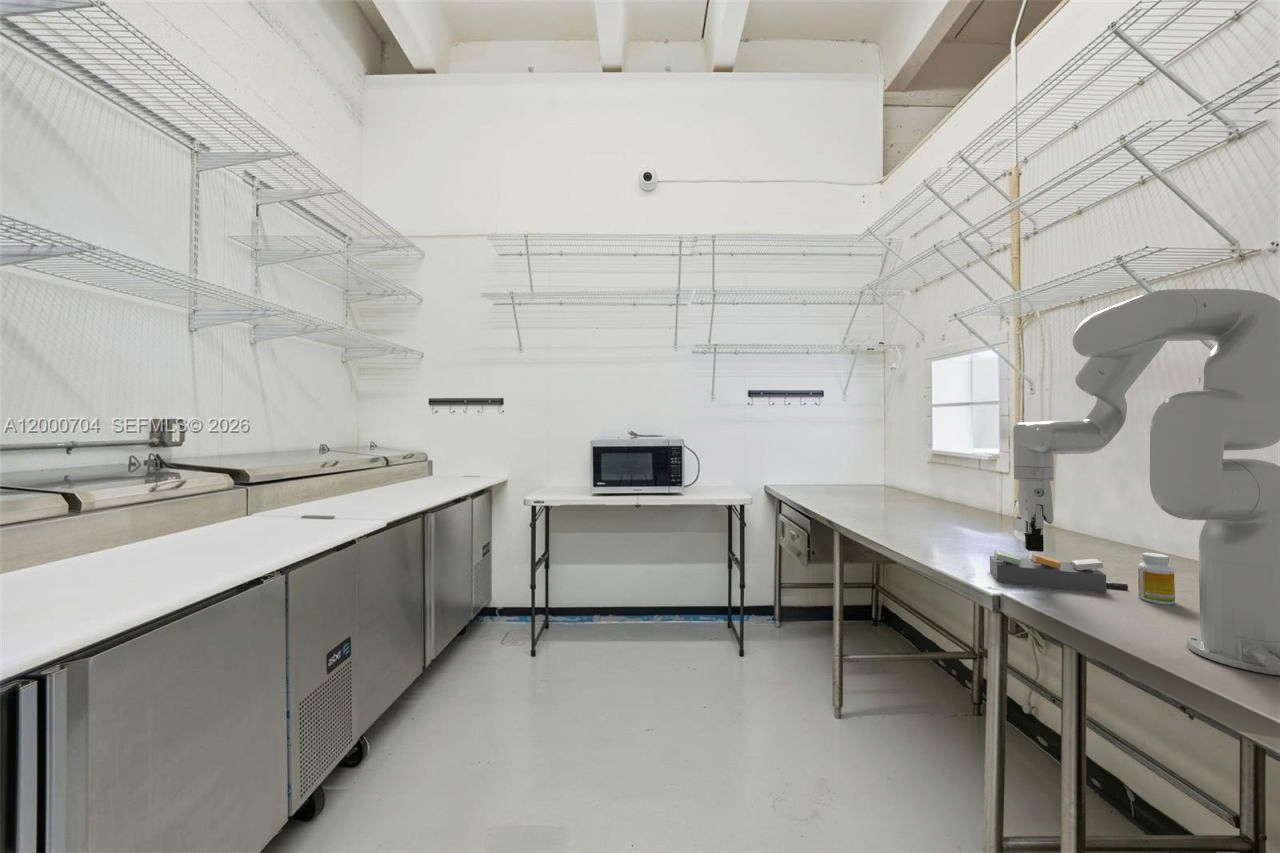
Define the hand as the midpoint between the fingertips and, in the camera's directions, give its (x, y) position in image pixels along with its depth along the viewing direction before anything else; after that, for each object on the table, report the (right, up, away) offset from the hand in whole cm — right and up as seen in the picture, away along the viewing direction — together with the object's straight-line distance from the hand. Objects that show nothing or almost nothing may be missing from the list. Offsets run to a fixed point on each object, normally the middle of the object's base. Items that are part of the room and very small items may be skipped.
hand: (1034, 550), depth 120 cm
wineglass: (+12, -8, +17) cm, 22 cm away
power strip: (+5, -8, -1) cm, 9 cm away
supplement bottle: (+15, -8, -13) cm, 22 cm away
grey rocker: (+9, -2, -4) cm, 10 cm away
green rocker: (-5, -2, +2) cm, 6 cm away
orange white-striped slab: (+2, -2, -1) cm, 3 cm away
